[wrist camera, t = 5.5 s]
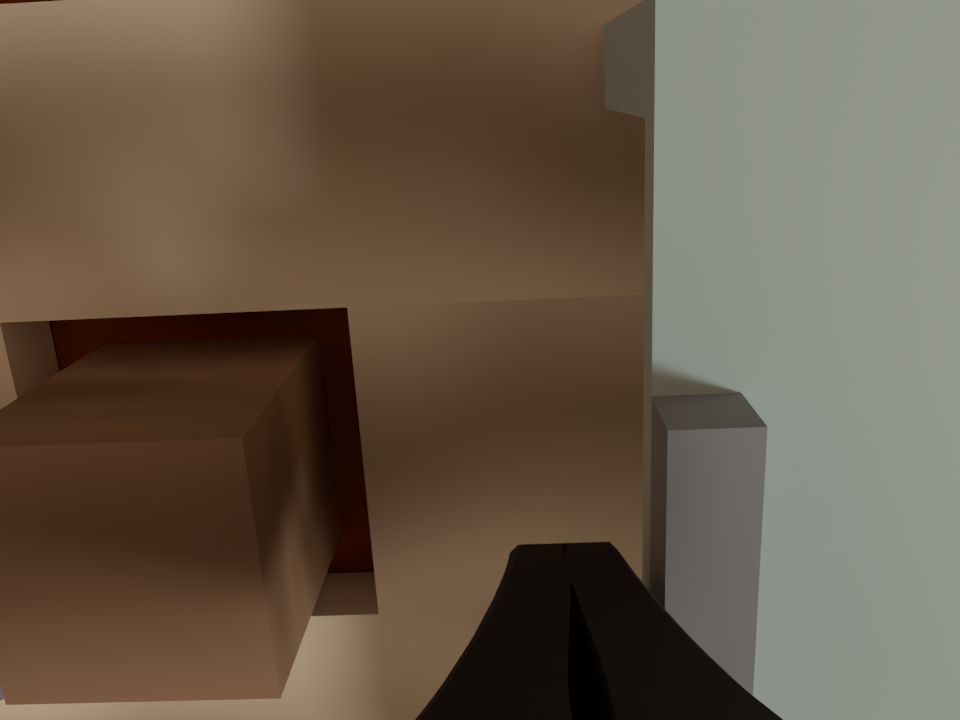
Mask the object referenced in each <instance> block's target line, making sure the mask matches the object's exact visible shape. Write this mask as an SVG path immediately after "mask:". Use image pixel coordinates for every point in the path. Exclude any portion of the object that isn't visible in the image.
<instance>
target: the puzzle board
mask: <svg viewBox="0 0 960 720" xmlns="http://www.w3.org/2000/svg"><path fill="white" fill-rule="evenodd" d="M642 1H643V0H60V1H44V2H27V3H11V4H0V409H2V408H3V407H5V406H6V405H8V404H10V403H11V402H13V401H14V400H16V399H17V398H19V397H21V396H22V395H24V394H25V393H27V392H28V391H30V390H32V389H33V388H35V387H36V386H38V385H39V384H41V383H42V382H44V381H46V380H47V379H49V378H50V377H52V376H53V375H55V374H57V373H58V372H60V371H59V367H58V362H57V357H56V352H55V348H54V343H53V338H52V334H51V329H50V324H49V321H52V320H75V319H97V318H120V317H143V316H165V315H188V314H211V313H234V312H256V311H279V310H302V309H324V308H347V311H348V321H349V331H350V340H351V350H352V360H353V370H354V379H355V389H356V399H357V409H358V418H359V428H360V438H361V448H362V457H363V467H364V477H365V487H366V496H367V506H368V516H369V525H370V535H371V545H372V555H373V564H374V572H356V573H327V574H326V577H325V579H324V582H323V585H322V587H321V590H320V593H319V596H318V598H317V601H316V604H315V606H314V609H313V612H312V615H311V617H310V620H309V623H308V625H307V628H306V631H305V634H304V636H303V639H302V642H301V644H300V647H299V650H298V653H297V655H296V658H295V661H294V663H293V666H292V669H291V672H290V674H289V677H288V680H287V682H286V685H285V688H284V691H283V693H282V696H281V699H240V700H197V701H154V702H110V703H67V704H24V705H6V704H5V700H4V699H3V700H0V720H415V719H416V718H417V717H418V715H419V714H420V713H421V712H422V710H423V709H424V708H425V707H426V705H427V704H428V703H429V701H430V700H431V699H432V697H433V696H434V695H435V693H436V692H437V691H438V689H439V688H440V687H441V685H442V684H443V682H444V681H445V679H446V678H447V676H448V675H449V673H450V672H451V670H452V669H453V667H454V666H455V664H456V663H457V661H458V659H459V658H460V656H461V655H462V653H463V652H464V650H465V649H466V647H467V646H468V644H469V642H470V641H471V639H472V637H473V636H474V634H475V632H476V630H477V628H478V626H479V625H480V623H481V621H482V619H483V617H484V615H485V613H486V612H487V610H488V608H489V606H490V604H491V602H492V600H493V598H494V596H495V593H496V591H497V589H498V587H499V585H500V582H501V580H502V577H503V575H504V572H505V569H506V566H507V563H508V559H509V554H510V552H511V551H512V550H513V549H514V548H515V547H516V546H517V545H522V544H552V543H582V542H610V543H611V544H612V545H613V546H614V547H616V548H617V549H618V551H619V552H620V554H621V555H622V556H623V558H624V559H625V560H626V562H627V563H628V565H629V566H630V567H631V569H632V570H633V571H634V572H635V574H636V575H637V576H638V578H639V579H640V580H641V581H642V534H643V379H644V223H645V118H642V117H638V116H634V115H630V114H626V113H621V112H617V111H613V110H609V109H605V100H604V24H606V23H607V22H609V21H611V20H612V19H614V18H615V17H617V16H619V15H620V14H622V13H624V12H625V11H627V10H629V9H630V8H632V7H633V6H635V5H637V4H638V3H640V2H642Z"/></svg>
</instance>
